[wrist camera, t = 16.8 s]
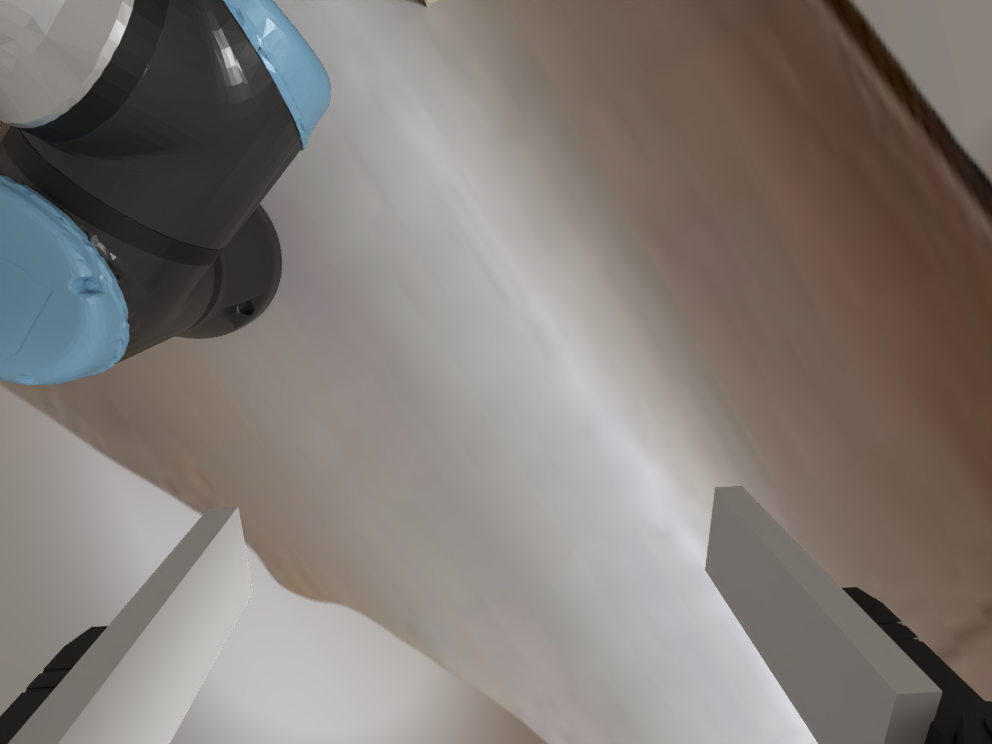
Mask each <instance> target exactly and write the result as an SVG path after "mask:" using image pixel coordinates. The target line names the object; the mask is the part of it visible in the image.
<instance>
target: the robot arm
mask: <svg viewBox="0 0 992 744" xmlns="http://www.w3.org/2000/svg"><path fill="white" fill-rule="evenodd" d="M330 93H331V84H330V80H329V76H328V74H327V72H326V70H325V68H324V66H323V64H322V63H321V61H320V60H319V58H318V57H317V55H316V54H315V53H314V51H313V50H312V48H311V47H310V46H309V44H308V43H307V42H306V40H305V39H304V38H303V37H302V35H301V34H300V33H299V31H298V30H297V29H296V28H295V26H294V25H293V24H292V23H291V22H290V20H289V19H288V18H287V17H286V15H285V14H284V13H283V12H282V11H281V9H280V8H279V7H278V6H277V5H276V3H275V2H274V1H273V0H0V121H2V122H4V123H6V124H8V125H10V126H11V127H10V128H9V130H8V131H7V133H6V135H5V136H4V138H3V139H2V141H1V143H0V380H3V381H7V382H12V383H17V384H23V385H53V384H59V383H64V382H68V381H72V380H75V379H79V378H82V377H86V376H92V375H95V374H97V373H101V372H104V371H105V370H108V369H110V368H111V367H112V366H113V365H114V364H116V363H118V362H120V361H123V360H125V359H127V358H129V357H131V356H133V355H135V354H138V353H140V352H142V351H144V350H146V349H148V348H151V347H153V346H155V345H157V344H159V343H161V342H163V341H166V340H168V339H170V338H172V337H174V336H176V337H183V338H193V339H204V338H213V337H218V336H222V335H226V334H229V333H231V332H234V331H236V330H238V329H240V328H241V327H243V326H245V325H247V324H249V323H250V322H252V321H253V320H255V319H256V318H257V317H258V316H259V315H261V314H262V313H263V312H264V310H265V309H266V308H267V307H268V305H269V304H270V303H271V301H272V299H273V297H274V295H275V293H276V291H277V288H278V285H279V282H280V277H281V270H282V256H281V249H280V244H279V240H278V236H277V233H276V231H275V228H274V226H273V224H272V222H271V220H270V218H269V217H268V215H267V213H266V212H265V210H264V209H263V208H262V206H261V205H260V202H261V201H262V200H263V198H264V197H265V196H266V195H267V193H268V192H269V191H270V189H271V188H272V187H273V185H274V184H275V183H276V181H277V180H278V179H279V177H280V176H281V175H282V174H283V172H284V171H285V170H286V168H287V167H288V166H289V164H290V163H291V162H292V160H293V159H294V158H295V157H296V155H297V154H298V153H299V151H300V150H304V149H305V148H306V145H307V144H308V137H309V135H310V134H311V132H312V131H313V129H314V128H315V126H316V125H317V123H318V122H319V120H320V119H321V117H322V116H323V114H324V113H325V111H326V110H327V108H328V106H329V102H330V98H331V94H330ZM705 570H706V572H707V574H708V575H709V577H710V578H711V580H712V581H713V583H714V584H715V586H716V587H717V589H718V590H719V592H720V593H721V595H722V597H723V598H724V600H725V601H726V603H727V604H728V606H729V607H730V609H731V610H732V612H733V613H734V615H735V616H736V618H737V620H738V621H739V623H740V624H741V626H742V627H743V629H744V630H745V632H746V633H747V635H748V636H749V638H750V639H751V641H752V643H753V644H754V646H755V647H756V649H757V650H758V652H759V653H760V655H761V656H762V658H763V659H764V661H765V662H766V664H767V666H768V667H769V669H770V670H771V672H772V673H773V675H774V676H775V678H776V679H777V681H778V682H779V684H780V685H781V687H782V689H783V690H784V692H785V693H786V695H787V696H788V698H789V699H790V701H791V702H792V704H793V705H794V707H795V708H796V710H797V712H798V713H799V715H800V716H801V718H802V719H803V721H804V722H805V724H806V725H807V727H808V728H809V730H810V731H811V733H812V735H813V736H814V738H815V739H816V741H817V742H818V744H992V702H991V701H984V700H983V699H982V698H981V697H980V696H979V695H978V694H977V693H976V692H975V691H974V690H973V689H972V688H971V687H969V686H968V685H967V684H966V683H965V682H964V681H963V680H962V679H961V678H960V677H959V676H958V675H957V674H956V673H955V672H954V671H953V670H952V669H951V668H950V667H949V666H948V665H947V664H945V663H944V662H943V661H942V660H941V659H940V658H939V657H938V656H937V655H936V654H935V653H934V652H933V651H932V650H931V649H930V648H929V647H928V646H927V645H926V644H925V643H924V642H920V641H919V639H918V637H917V636H916V635H915V634H914V633H913V632H912V631H911V630H910V629H909V628H908V627H907V626H903V624H902V621H901V620H900V619H899V618H897V617H896V616H895V615H894V614H893V613H892V612H891V611H890V610H889V609H888V608H887V607H886V606H885V605H884V604H883V603H882V602H880V601H878V600H877V599H875V598H873V597H872V596H870V595H868V594H867V593H865V592H864V591H862V590H860V589H859V588H857V587H851V588H841V587H840V586H839V585H838V584H837V583H836V582H835V581H834V580H833V579H832V578H831V577H830V576H829V575H828V574H827V573H826V572H825V571H824V570H823V569H822V568H821V567H820V566H819V564H818V563H817V562H816V561H815V560H814V559H813V558H812V557H811V556H810V555H809V554H808V553H807V552H806V551H805V550H804V549H803V548H802V547H801V546H800V545H799V544H798V543H797V542H796V541H795V540H794V539H793V538H792V537H791V536H790V535H789V534H788V533H787V532H786V531H785V530H784V529H783V528H782V527H781V526H780V525H779V524H778V523H777V522H776V521H775V519H774V518H773V517H772V516H771V515H770V514H769V513H768V512H767V511H766V510H765V509H764V508H763V507H762V506H761V505H760V504H759V503H758V502H757V501H756V500H755V499H754V498H753V497H752V496H751V495H750V494H749V493H748V492H747V491H746V490H745V489H744V488H743V487H742V486H733V487H715V493H714V501H713V510H712V518H711V526H710V534H709V543H708V551H707V559H706V568H705ZM252 594H253V586H252V580H251V575H250V569H249V564H248V559H247V553H246V548H245V542H244V537H243V531H242V526H241V520H240V515H239V509H238V507H219V508H209V509H208V510H207V511H206V512H205V513H204V514H203V516H202V517H201V518H200V519H199V520H198V522H197V523H196V524H195V525H194V526H193V527H192V528H191V530H190V531H189V532H188V533H187V534H186V535H185V537H184V538H183V539H182V540H181V541H180V543H179V544H178V545H177V546H176V547H175V548H174V550H173V551H172V552H171V553H170V554H169V555H168V557H167V558H166V559H165V560H164V561H163V563H162V564H161V565H160V566H159V567H158V568H157V569H156V571H155V572H154V573H153V574H152V575H151V577H150V578H149V579H148V580H147V581H146V583H145V584H144V585H143V586H142V587H141V588H140V589H139V591H138V592H137V593H136V594H135V595H134V596H133V598H132V599H131V600H130V601H129V602H128V603H127V605H126V606H125V607H124V608H123V609H122V610H121V612H120V613H119V614H118V615H117V617H116V618H115V619H114V620H113V621H112V622H111V624H110V625H109V626H103V627H91V628H90V629H88V630H87V631H85V632H84V633H83V634H81V635H80V636H78V637H77V638H76V639H74V640H73V641H72V642H70V643H69V644H67V645H66V646H64V647H63V648H62V650H61V651H60V652H59V653H58V654H57V655H56V656H55V657H54V658H53V659H52V661H51V662H50V663H49V664H48V665H47V666H46V667H45V668H44V671H43V673H42V674H39V675H38V676H37V677H36V678H35V679H34V680H33V681H32V682H31V684H30V685H29V686H28V687H27V690H26V692H25V693H21V694H20V696H19V697H18V698H17V699H16V700H15V701H14V702H13V703H12V704H11V706H10V707H9V708H8V709H7V710H6V711H5V712H4V713H3V714H2V715H1V716H0V744H170V742H171V740H172V738H173V736H174V735H175V733H176V731H177V729H178V727H179V726H180V724H181V722H182V720H183V718H184V717H185V715H186V713H187V711H188V709H189V708H190V706H191V704H192V702H193V700H194V699H195V696H196V695H197V693H198V691H199V689H200V688H201V686H202V684H203V682H204V680H205V679H206V677H207V675H208V673H209V671H210V669H211V668H212V666H213V664H214V662H215V660H216V659H217V657H218V655H219V653H220V651H221V650H222V648H223V646H224V644H225V642H226V641H227V639H228V637H229V635H230V633H231V632H232V630H233V628H234V626H235V624H236V622H237V621H238V619H239V617H240V615H241V614H242V612H243V610H244V608H245V606H246V604H247V602H248V601H249V599H250V597H251V595H252Z"/></svg>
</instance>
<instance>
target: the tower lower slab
mask: <svg viewBox="0 0 992 744" xmlns="http://www.w3.org/2000/svg"><path fill="white" fill-rule="evenodd" d="M436 1H437V0H424V2H425V4H426V6H427V7H428V6H430V5H431V4H433V3H434V2H436Z"/></svg>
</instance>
